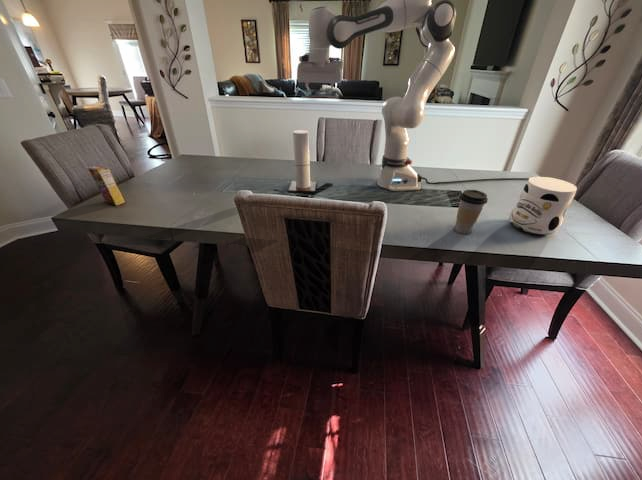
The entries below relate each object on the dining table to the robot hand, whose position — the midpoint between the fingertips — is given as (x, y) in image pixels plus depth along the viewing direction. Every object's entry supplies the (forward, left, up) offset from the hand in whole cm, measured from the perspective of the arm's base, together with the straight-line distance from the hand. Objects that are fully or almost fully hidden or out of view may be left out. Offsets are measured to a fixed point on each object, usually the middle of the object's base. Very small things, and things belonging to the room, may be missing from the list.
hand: (319, 94), depth 132 cm
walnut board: (+7, +16, -39) cm, 43 cm away
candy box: (+90, +40, -39) cm, 106 cm away
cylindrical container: (+7, +16, -38) cm, 42 cm away
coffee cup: (-60, +55, -39) cm, 90 cm away
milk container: (-88, +51, -39) cm, 109 cm away
